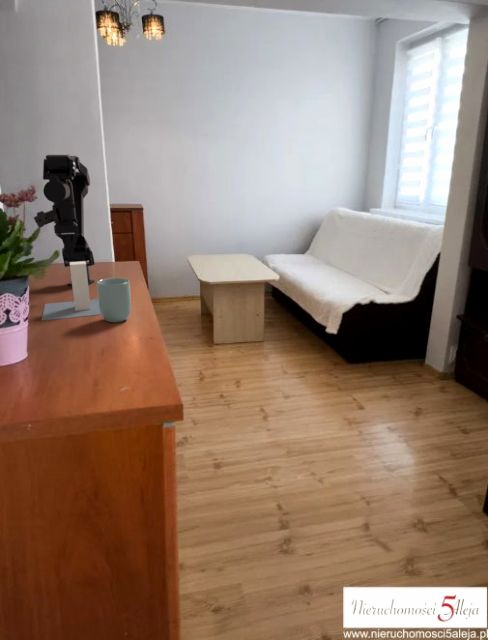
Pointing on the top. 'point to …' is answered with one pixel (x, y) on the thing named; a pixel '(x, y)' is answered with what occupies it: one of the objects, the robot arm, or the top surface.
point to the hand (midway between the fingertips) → (70, 254)
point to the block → (80, 285)
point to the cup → (114, 299)
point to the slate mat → (69, 310)
